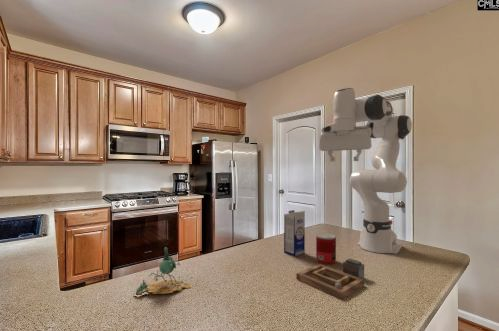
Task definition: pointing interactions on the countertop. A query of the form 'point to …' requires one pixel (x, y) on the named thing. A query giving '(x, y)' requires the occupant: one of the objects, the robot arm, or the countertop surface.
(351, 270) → the grey block
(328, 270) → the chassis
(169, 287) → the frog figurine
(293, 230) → the milk carton
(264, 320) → the countertop surface
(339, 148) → the robot arm
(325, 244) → the canned food
